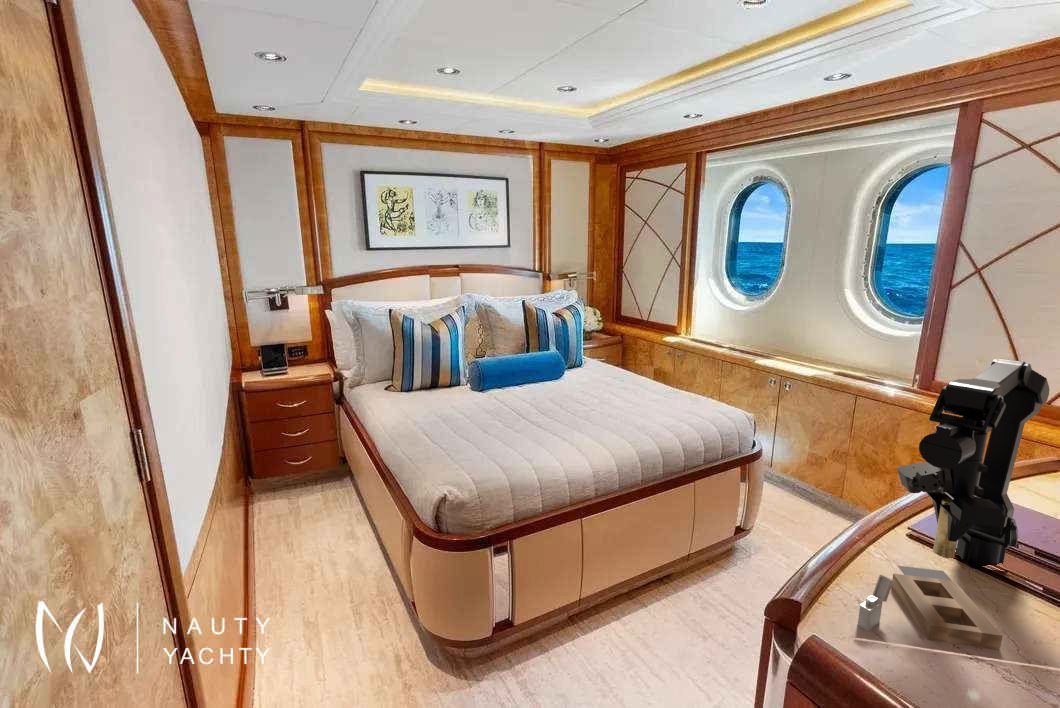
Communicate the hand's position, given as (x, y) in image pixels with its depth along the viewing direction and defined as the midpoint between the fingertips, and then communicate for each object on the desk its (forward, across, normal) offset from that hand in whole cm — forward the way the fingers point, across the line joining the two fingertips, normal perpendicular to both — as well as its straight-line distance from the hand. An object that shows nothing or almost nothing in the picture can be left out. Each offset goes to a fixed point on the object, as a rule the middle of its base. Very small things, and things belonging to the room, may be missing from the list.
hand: (947, 536), depth 90 cm
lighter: (+14, +8, -13) cm, 21 cm away
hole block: (+14, +4, -1) cm, 14 cm away
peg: (+4, 0, 0) cm, 4 cm away
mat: (+13, -7, +2) cm, 15 cm away
